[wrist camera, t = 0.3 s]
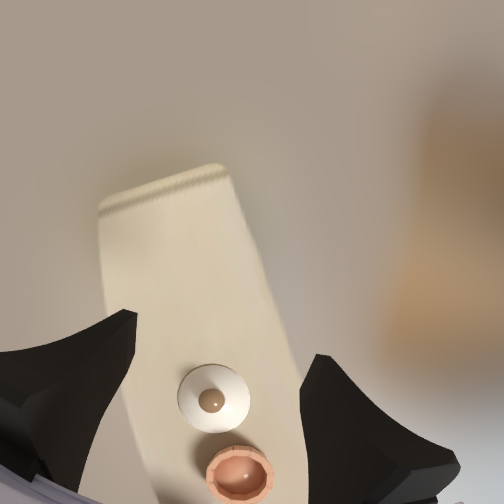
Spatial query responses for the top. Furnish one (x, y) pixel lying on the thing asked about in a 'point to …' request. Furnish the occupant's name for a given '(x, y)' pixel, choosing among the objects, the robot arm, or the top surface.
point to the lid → (214, 399)
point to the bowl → (239, 475)
